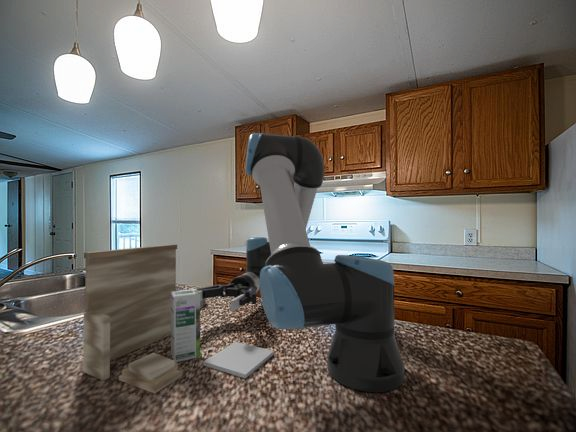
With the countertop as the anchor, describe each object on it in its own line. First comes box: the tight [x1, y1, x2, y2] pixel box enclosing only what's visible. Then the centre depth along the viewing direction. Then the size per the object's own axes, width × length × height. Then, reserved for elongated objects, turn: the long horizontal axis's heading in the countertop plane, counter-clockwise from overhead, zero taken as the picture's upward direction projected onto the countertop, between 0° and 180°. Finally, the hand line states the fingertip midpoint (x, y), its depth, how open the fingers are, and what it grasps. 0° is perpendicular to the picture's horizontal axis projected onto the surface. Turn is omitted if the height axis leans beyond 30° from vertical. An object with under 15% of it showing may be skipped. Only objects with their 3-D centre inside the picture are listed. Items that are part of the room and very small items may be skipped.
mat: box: [202, 341, 275, 379], centre depth 62 cm, size 11×11×1 cm
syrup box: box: [170, 288, 201, 363], centre depth 64 cm, size 6×6×14 cm
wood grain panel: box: [82, 243, 178, 381], centre depth 66 cm, size 8×23×24 cm, turn 153°
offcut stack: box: [118, 352, 183, 394], centre depth 55 cm, size 10×7×4 cm
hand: (208, 303), depth 73 cm, fingers open, 13 cm apart
